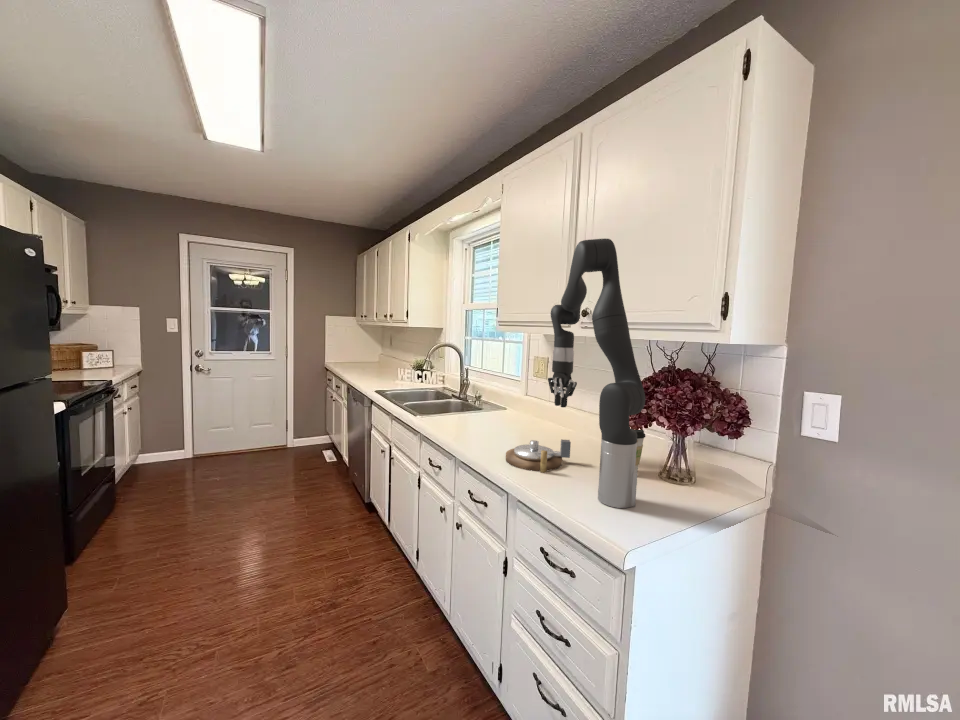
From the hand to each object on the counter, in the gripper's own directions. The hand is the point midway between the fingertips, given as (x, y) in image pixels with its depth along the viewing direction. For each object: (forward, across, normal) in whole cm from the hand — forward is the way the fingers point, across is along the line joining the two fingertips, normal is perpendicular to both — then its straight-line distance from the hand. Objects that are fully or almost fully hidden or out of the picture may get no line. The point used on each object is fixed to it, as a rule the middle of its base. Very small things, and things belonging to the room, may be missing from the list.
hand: (560, 406), depth 145 cm
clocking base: (+19, 0, -12) cm, 22 cm away
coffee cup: (+19, +23, +10) cm, 32 cm away
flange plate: (+17, +2, -9) cm, 19 cm away
